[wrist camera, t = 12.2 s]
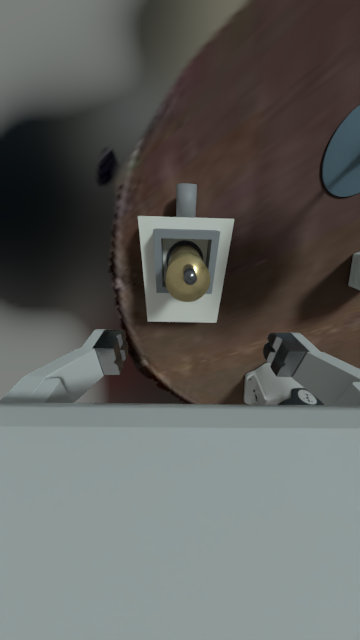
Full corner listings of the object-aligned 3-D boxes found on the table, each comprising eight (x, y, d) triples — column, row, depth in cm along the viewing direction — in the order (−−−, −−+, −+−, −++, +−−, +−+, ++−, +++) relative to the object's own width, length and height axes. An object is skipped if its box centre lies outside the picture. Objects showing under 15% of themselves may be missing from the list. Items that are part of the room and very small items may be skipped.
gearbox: (211, 308, 38) (219, 331, 31) (151, 307, 38) (145, 330, 30) (228, 190, 27) (249, 178, 19) (142, 186, 26) (128, 174, 19)
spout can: (198, 276, 28) (212, 314, 17) (169, 276, 28) (164, 314, 17) (201, 244, 25) (219, 265, 14) (169, 244, 25) (162, 264, 14)
